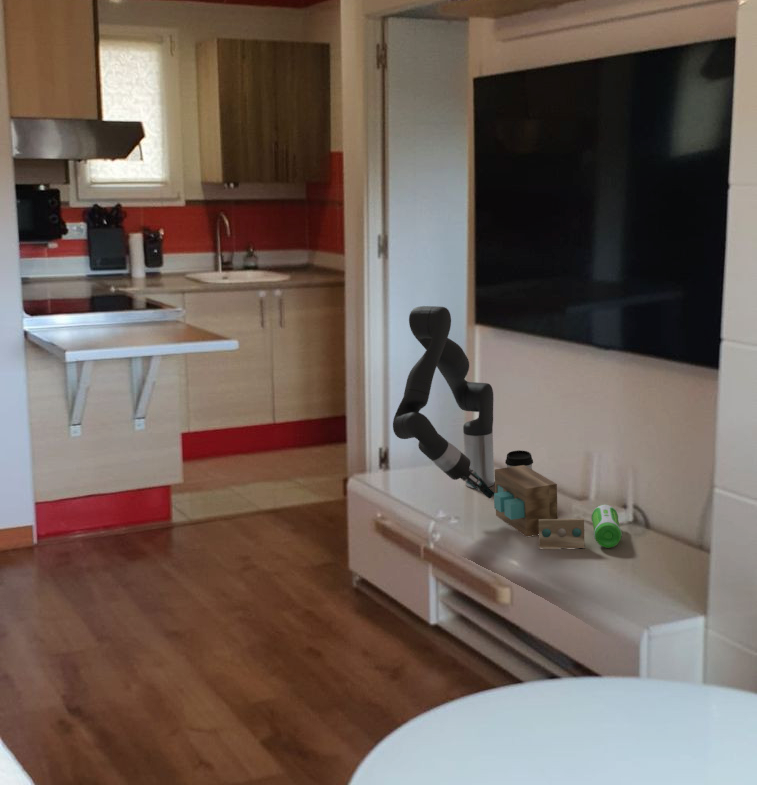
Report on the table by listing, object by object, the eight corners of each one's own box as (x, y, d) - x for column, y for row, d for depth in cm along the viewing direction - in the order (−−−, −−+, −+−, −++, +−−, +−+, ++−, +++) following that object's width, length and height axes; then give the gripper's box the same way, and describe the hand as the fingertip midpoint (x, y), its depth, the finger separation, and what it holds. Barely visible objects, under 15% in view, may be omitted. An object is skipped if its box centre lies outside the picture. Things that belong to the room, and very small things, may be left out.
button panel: (526, 537, 324) (525, 488, 321) (496, 515, 343) (494, 469, 340) (557, 531, 326) (556, 483, 323) (525, 510, 346) (524, 465, 343)
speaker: (622, 550, 310) (622, 523, 309) (594, 550, 311) (594, 523, 310) (617, 527, 327) (617, 502, 326) (591, 528, 328) (591, 502, 327)
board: (539, 542, 319) (538, 515, 317) (583, 542, 317) (583, 514, 315) (539, 549, 314) (538, 521, 312) (584, 548, 312) (584, 520, 311)
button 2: (511, 519, 322) (510, 504, 321) (504, 515, 327) (504, 500, 326) (530, 516, 324) (530, 501, 323) (524, 511, 328) (523, 497, 327)
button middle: (500, 512, 329) (500, 497, 328) (494, 508, 333) (493, 493, 332) (520, 509, 331) (519, 494, 330) (513, 504, 335) (513, 490, 334)
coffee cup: (533, 496, 358) (532, 449, 355) (534, 505, 350) (533, 457, 346) (506, 497, 359) (504, 450, 356) (506, 506, 351) (505, 458, 347)
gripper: (467, 455, 325) (509, 491, 331) (449, 444, 337) (490, 479, 343) (450, 476, 324) (492, 511, 331) (433, 464, 337) (474, 499, 343)
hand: (491, 495), depth 337 cm, fingers closed
